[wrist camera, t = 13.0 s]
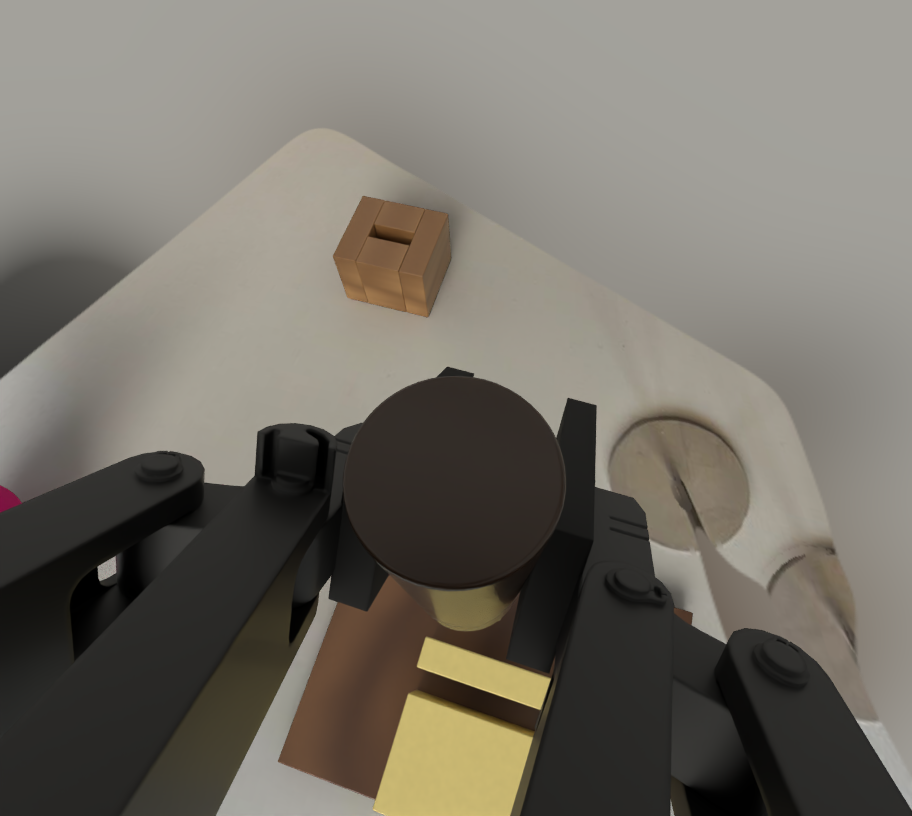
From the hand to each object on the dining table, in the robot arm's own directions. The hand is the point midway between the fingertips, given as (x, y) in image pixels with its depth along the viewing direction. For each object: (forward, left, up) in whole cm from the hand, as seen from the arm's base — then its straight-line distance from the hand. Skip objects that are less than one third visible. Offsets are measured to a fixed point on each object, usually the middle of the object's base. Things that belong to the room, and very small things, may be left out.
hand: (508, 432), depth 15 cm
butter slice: (-2, +6, -21) cm, 21 cm away
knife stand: (+13, -20, -22) cm, 32 cm away
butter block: (-2, +10, -21) cm, 23 cm away
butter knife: (0, +4, -8) cm, 9 cm away
